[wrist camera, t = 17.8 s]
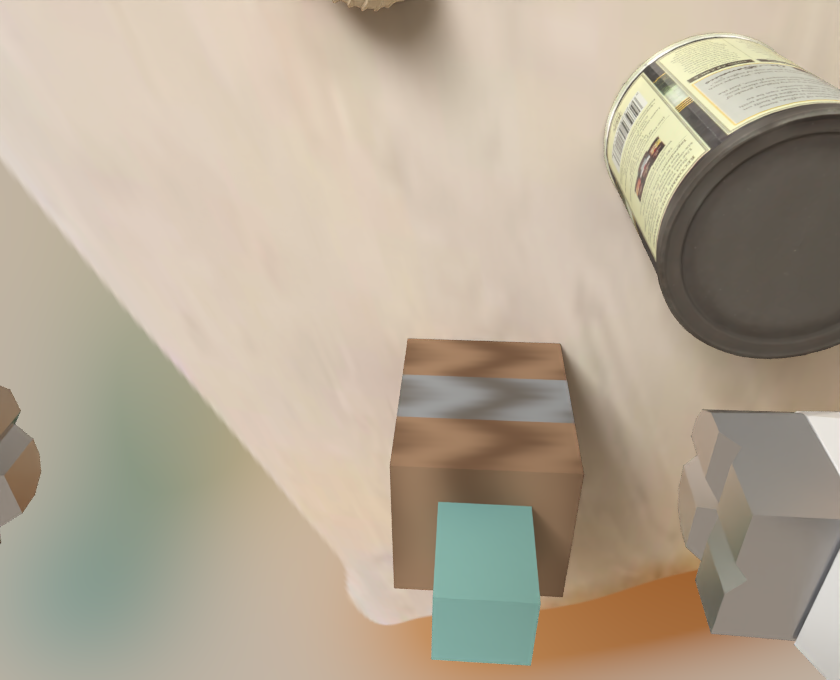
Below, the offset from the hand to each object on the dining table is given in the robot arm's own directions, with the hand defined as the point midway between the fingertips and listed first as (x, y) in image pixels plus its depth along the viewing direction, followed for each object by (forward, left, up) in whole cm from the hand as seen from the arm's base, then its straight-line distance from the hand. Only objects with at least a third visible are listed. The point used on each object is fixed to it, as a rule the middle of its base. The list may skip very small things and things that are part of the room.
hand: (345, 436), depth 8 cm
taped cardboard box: (-3, +25, -32) cm, 41 cm away
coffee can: (-14, +6, -33) cm, 36 cm away
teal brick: (-3, +25, -20) cm, 33 cm away
